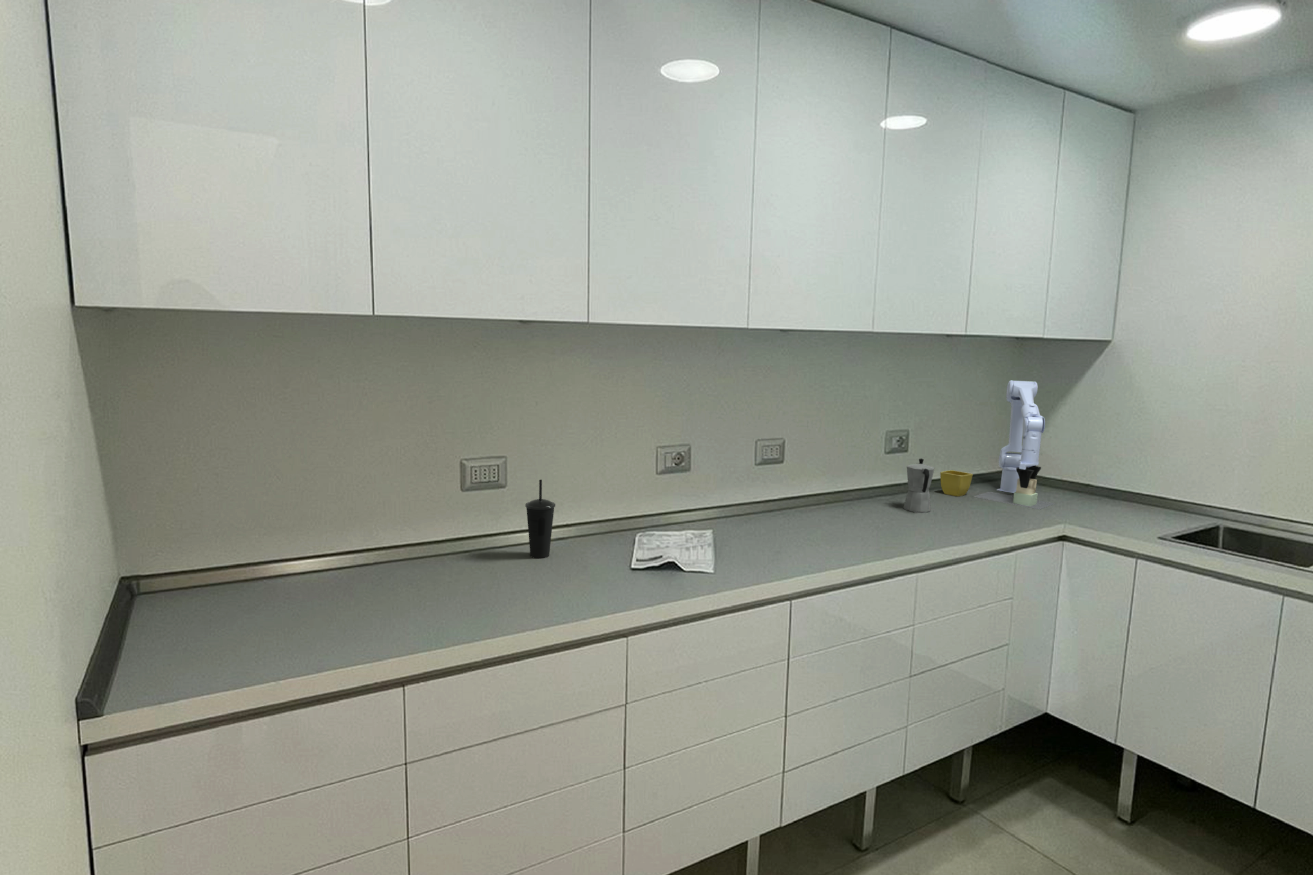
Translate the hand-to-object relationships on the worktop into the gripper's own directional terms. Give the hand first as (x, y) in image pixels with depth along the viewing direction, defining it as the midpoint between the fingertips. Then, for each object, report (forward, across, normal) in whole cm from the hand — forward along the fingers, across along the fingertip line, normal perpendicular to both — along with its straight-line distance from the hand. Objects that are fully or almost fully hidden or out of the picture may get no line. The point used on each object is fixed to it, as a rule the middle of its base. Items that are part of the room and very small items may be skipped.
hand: (1026, 486), depth 262 cm
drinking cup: (+7, +170, -64) cm, 182 cm away
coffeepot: (+7, +40, -22) cm, 46 cm away
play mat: (+7, -3, -5) cm, 9 cm away
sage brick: (+6, 0, 0) cm, 6 cm away
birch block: (+2, 0, 0) cm, 2 cm away
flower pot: (+7, +6, -23) cm, 25 cm away
